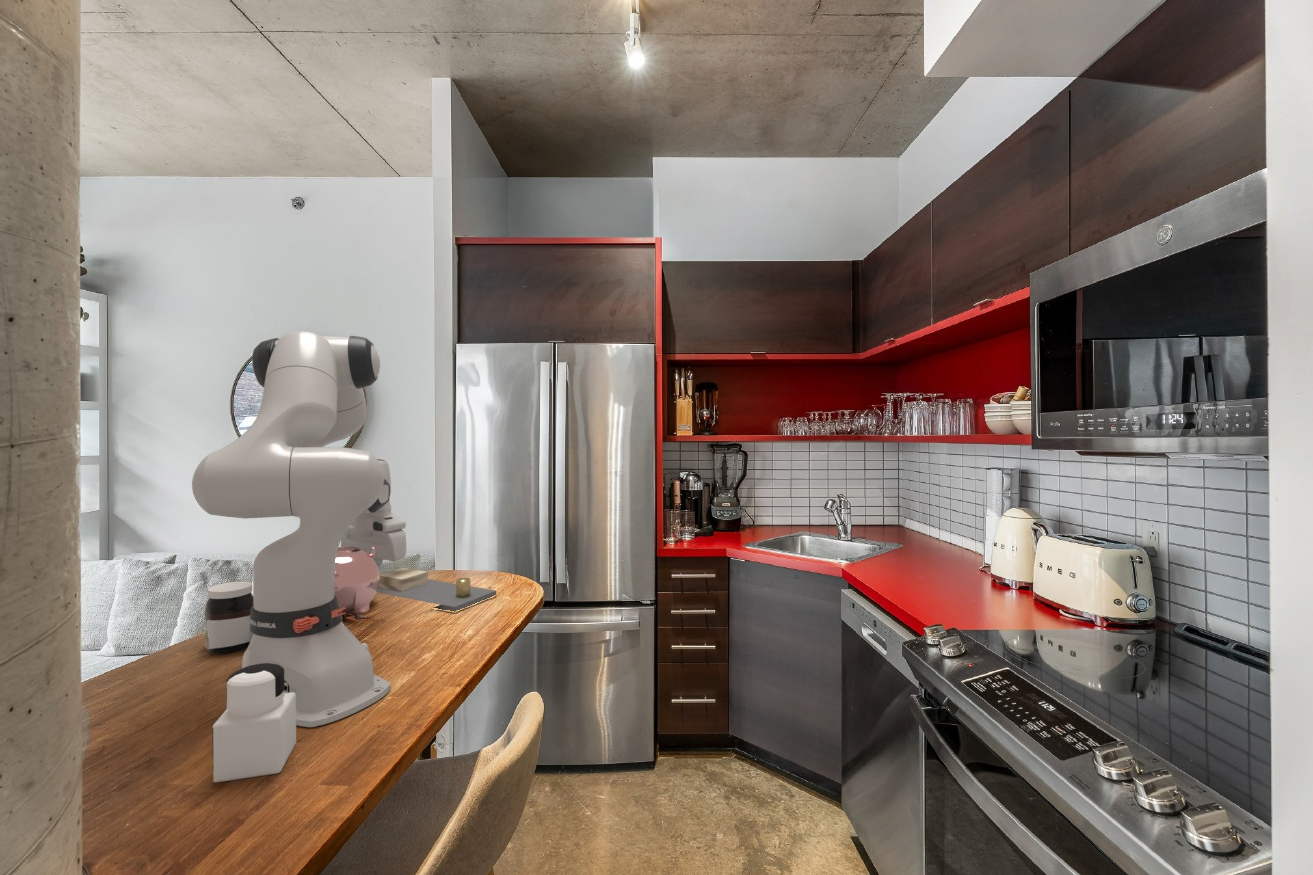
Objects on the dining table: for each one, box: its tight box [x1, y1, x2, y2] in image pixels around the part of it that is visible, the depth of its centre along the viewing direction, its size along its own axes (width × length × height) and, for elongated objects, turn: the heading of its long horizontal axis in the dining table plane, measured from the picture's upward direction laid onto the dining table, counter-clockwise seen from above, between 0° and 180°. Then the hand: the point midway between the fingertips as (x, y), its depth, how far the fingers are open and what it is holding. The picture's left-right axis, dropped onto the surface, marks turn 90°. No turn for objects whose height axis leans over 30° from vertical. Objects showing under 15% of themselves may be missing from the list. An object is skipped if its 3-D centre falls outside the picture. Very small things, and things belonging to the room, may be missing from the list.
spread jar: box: [204, 581, 253, 655], centre depth 111 cm, size 12×11×12 cm
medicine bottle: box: [211, 663, 297, 783], centre depth 74 cm, size 7×7×12 cm
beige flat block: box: [378, 567, 429, 592], centre depth 148 cm, size 9×8×3 cm
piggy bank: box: [334, 546, 381, 621], centre depth 129 cm, size 15×18×16 cm
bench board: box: [376, 578, 497, 612], centre depth 144 cm, size 30×14×2 cm, turn 65°
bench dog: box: [455, 577, 471, 598], centre depth 139 cm, size 3×3×4 cm
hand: (372, 573), depth 152 cm, fingers closed
